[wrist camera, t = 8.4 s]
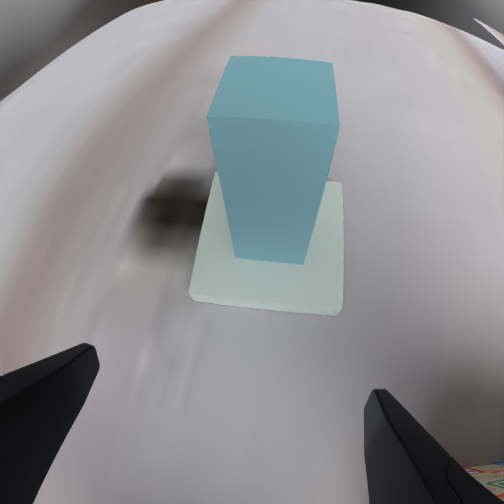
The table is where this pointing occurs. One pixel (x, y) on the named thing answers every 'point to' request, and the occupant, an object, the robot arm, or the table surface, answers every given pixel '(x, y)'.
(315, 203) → the teal pillar
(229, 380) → the table surface
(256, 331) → the table surface
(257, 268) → the base tile
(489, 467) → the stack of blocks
